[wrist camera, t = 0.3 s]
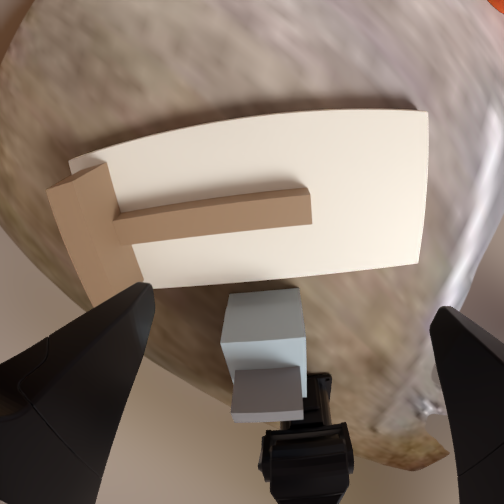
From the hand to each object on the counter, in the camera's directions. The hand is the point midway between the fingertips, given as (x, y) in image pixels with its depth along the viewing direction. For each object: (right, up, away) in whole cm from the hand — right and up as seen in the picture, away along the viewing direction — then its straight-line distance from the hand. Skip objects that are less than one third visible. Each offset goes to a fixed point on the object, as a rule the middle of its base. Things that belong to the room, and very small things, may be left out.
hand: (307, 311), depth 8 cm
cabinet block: (0, -5, +19) cm, 20 cm away
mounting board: (-2, +5, +13) cm, 14 cm away
